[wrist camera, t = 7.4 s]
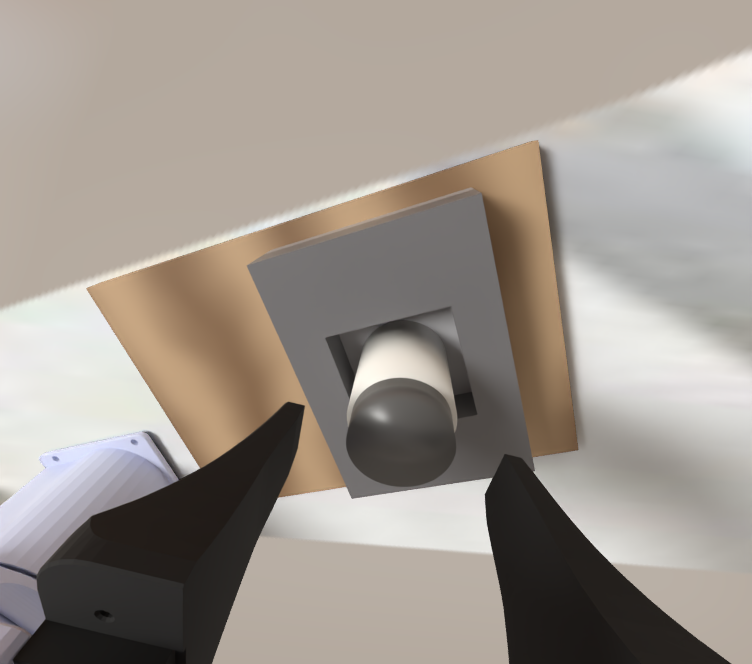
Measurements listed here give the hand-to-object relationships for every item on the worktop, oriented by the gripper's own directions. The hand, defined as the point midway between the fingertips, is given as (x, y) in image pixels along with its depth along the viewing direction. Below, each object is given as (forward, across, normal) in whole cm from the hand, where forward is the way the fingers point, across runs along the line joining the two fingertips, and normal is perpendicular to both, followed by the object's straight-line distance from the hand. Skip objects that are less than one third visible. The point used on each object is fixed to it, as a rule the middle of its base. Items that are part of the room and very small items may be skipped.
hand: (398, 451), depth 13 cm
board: (+9, +3, +2) cm, 10 cm away
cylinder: (+7, 0, 0) cm, 7 cm away
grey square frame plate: (+8, 0, 0) cm, 8 cm away
